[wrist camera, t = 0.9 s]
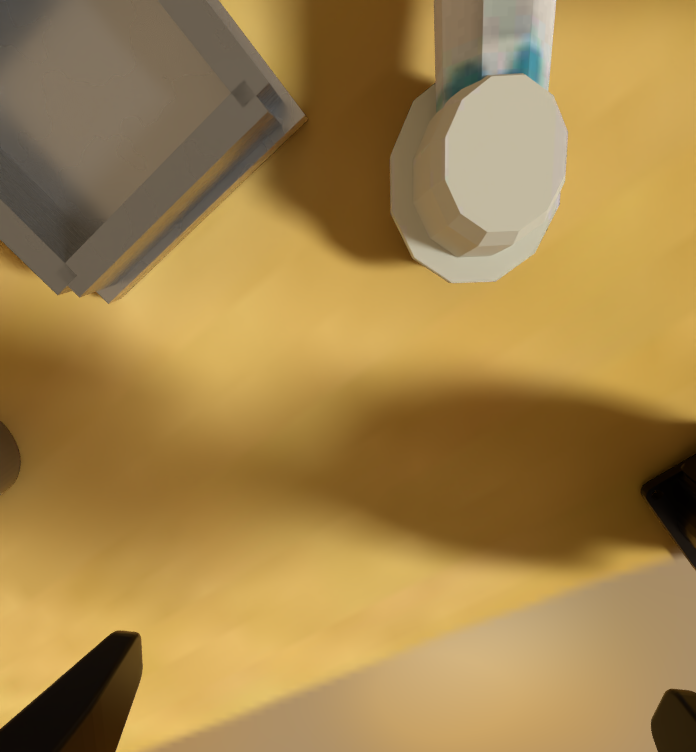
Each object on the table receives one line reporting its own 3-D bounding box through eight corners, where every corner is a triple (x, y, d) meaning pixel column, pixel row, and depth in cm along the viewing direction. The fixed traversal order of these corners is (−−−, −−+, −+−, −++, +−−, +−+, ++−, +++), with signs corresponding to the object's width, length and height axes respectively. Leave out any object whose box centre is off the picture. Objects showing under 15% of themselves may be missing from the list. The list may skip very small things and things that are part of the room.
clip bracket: (308, 119, 16) (296, 100, 13) (120, 298, 19) (71, 319, 16) (-14, -305, 13) (-139, -476, 10) (-195, -20, 15) (-345, -80, 12)
